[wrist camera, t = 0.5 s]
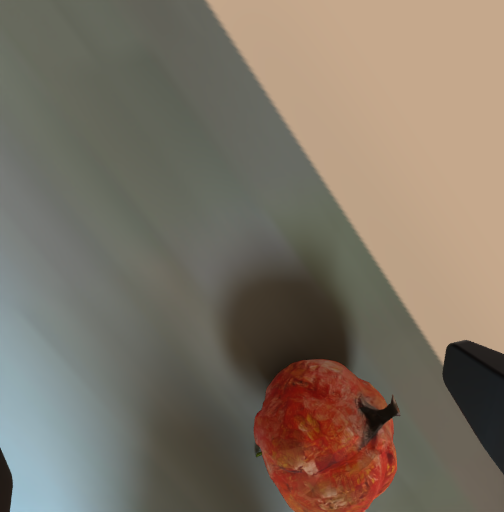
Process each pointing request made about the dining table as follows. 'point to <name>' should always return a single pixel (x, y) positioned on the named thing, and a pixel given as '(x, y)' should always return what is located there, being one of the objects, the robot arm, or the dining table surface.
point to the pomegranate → (326, 437)
